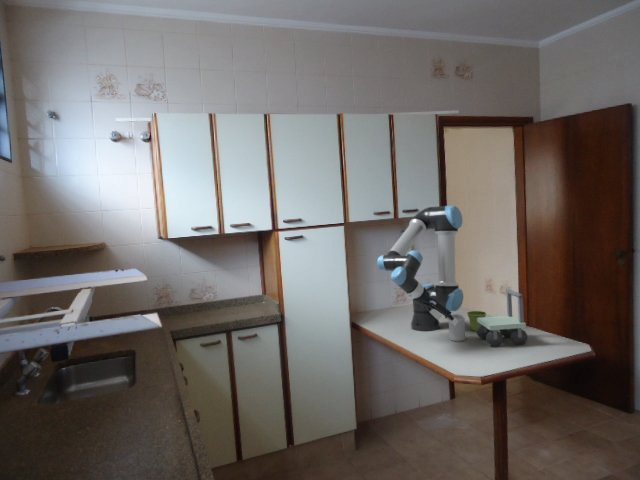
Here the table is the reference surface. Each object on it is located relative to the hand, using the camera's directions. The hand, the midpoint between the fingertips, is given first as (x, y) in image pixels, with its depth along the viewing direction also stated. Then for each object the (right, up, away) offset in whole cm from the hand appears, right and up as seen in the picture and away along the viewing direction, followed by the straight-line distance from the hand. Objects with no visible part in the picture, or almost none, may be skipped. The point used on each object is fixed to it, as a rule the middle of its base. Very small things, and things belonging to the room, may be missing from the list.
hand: (447, 320), depth 217 cm
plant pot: (+20, -8, +18) cm, 28 cm away
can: (+6, -10, +3) cm, 12 cm away
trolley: (+24, -9, -5) cm, 26 cm away
